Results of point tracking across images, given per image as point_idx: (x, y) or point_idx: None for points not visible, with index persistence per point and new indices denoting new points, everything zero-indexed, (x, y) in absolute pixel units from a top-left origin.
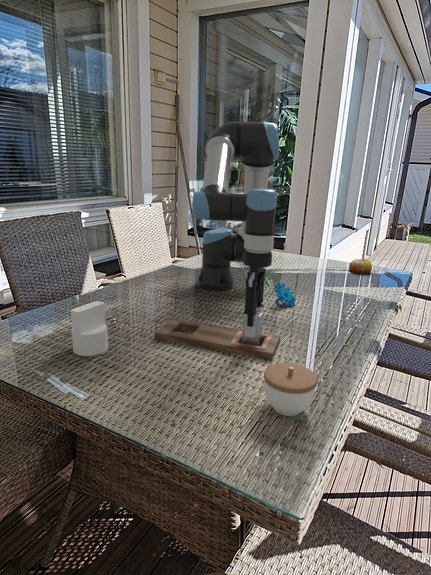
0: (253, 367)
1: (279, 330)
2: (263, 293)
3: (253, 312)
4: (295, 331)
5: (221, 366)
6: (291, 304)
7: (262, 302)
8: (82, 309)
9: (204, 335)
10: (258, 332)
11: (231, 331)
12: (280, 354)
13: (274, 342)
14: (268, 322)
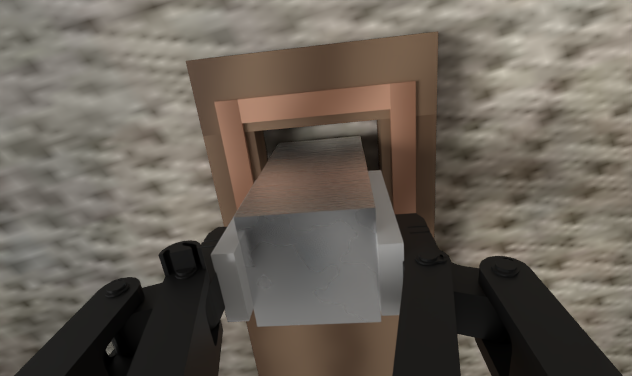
0: (535, 94)
1: (64, 104)
2: (43, 346)
3: (538, 279)
4: (10, 16)
5: (564, 219)
6: None
7: (124, 279)
8: None
9: (377, 361)
10: (365, 164)
11: None
12: (340, 10)
13: (292, 65)
14: (16, 182)
